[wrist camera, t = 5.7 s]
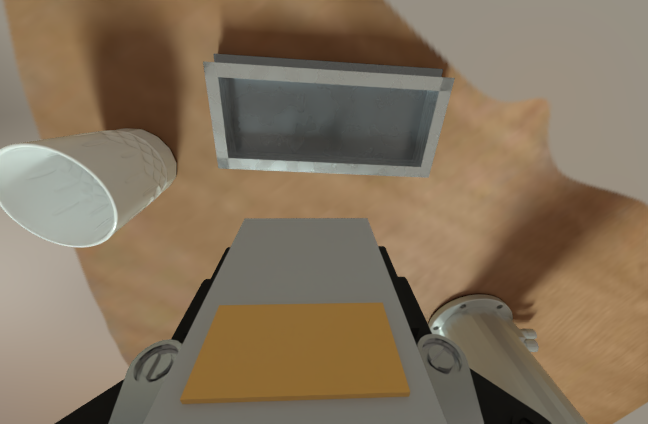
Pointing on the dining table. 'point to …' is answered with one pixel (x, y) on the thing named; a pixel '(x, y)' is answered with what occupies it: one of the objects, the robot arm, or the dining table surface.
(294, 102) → the rail
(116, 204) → the white cup
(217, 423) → the block
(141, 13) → the dining table surface
